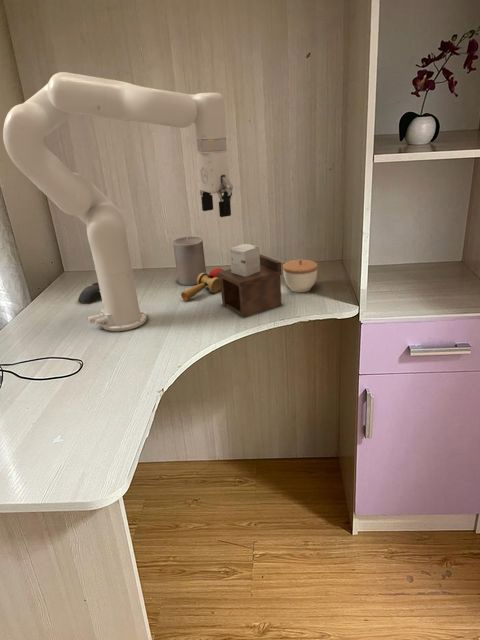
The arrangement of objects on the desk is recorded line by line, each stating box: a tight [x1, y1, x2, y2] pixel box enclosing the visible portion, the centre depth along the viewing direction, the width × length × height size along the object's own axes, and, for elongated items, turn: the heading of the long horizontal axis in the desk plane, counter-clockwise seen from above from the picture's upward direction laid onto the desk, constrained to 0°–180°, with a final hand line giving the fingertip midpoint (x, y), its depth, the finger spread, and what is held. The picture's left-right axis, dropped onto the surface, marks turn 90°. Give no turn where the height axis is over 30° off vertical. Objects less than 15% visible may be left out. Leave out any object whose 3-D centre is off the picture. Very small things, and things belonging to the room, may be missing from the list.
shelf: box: [218, 253, 283, 318], centre depth 152 cm, size 14×12×13 cm
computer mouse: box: [77, 282, 102, 304], centre depth 172 cm, size 12×18×4 cm
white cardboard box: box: [229, 243, 261, 277], centre depth 149 cm, size 6×6×7 cm
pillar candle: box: [172, 236, 207, 286], centre depth 175 cm, size 10×10×15 cm
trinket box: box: [282, 258, 319, 293], centre depth 163 cm, size 11×11×9 cm
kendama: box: [180, 267, 224, 302], centre depth 166 cm, size 8×6×18 cm
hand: (216, 213), depth 143 cm, fingers open, 9 cm apart
